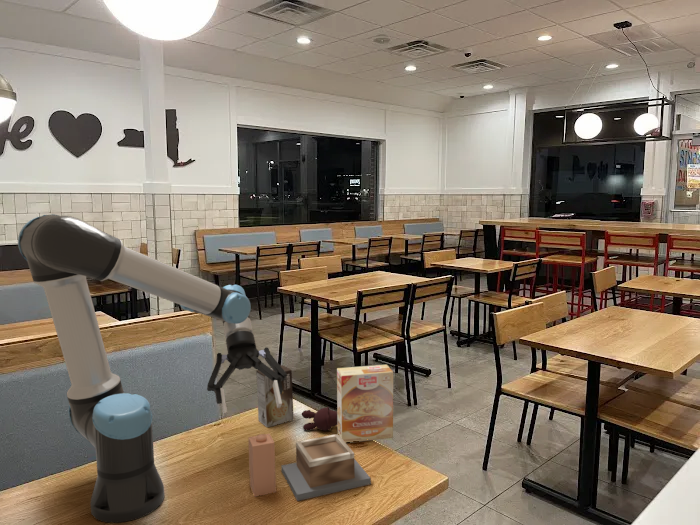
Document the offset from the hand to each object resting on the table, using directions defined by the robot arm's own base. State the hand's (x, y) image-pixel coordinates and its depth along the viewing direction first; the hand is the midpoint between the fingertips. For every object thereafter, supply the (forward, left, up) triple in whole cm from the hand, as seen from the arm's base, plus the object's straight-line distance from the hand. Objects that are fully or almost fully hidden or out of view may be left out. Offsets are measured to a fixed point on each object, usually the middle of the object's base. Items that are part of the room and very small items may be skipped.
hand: (253, 410), depth 130 cm
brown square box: (+15, -11, -14) cm, 23 cm away
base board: (+15, -11, -15) cm, 24 cm away
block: (0, -10, -15) cm, 18 cm away
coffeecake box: (+33, +6, -15) cm, 37 cm away
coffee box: (+12, +26, -15) cm, 32 cm away
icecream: (+24, +14, -15) cm, 32 cm away
